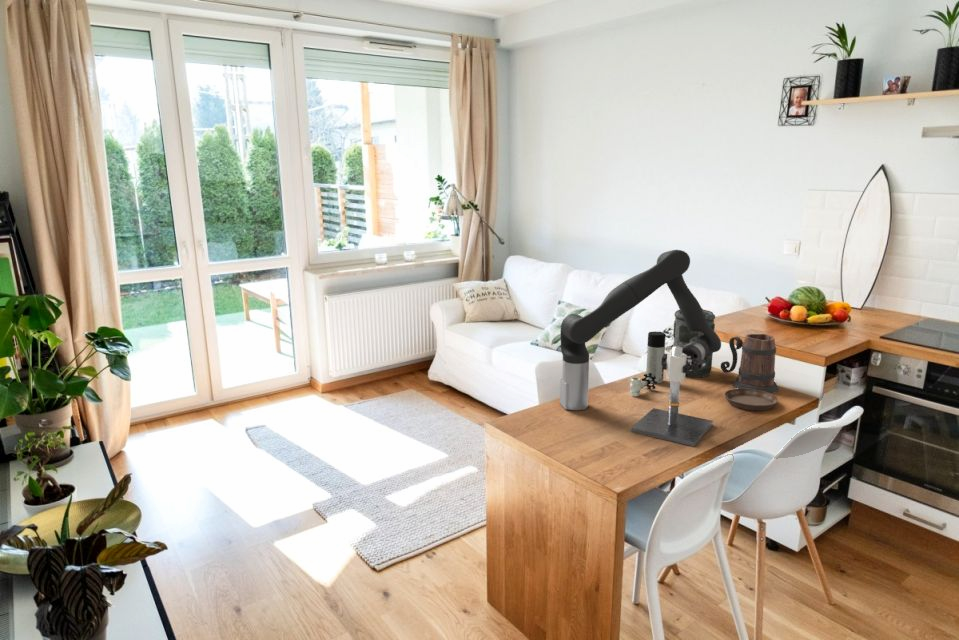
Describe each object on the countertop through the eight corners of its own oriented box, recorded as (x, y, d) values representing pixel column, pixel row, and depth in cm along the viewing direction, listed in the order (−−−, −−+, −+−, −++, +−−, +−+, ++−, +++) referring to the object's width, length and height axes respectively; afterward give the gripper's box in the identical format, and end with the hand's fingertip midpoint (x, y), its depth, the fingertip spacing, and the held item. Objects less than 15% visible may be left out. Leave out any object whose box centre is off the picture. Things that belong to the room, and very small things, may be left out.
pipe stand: (694, 446, 185) (700, 360, 178) (631, 431, 196) (634, 349, 190) (712, 424, 200) (718, 344, 194) (653, 412, 212) (657, 335, 205)
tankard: (788, 387, 234) (793, 337, 229) (763, 397, 225) (768, 344, 220) (733, 372, 253) (737, 325, 248) (708, 380, 244) (712, 332, 239)
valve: (639, 399, 225) (657, 391, 232) (639, 382, 223) (658, 374, 231) (624, 394, 230) (642, 387, 237) (624, 377, 228) (643, 370, 236)
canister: (718, 372, 252) (723, 307, 246) (697, 381, 243) (702, 312, 236) (684, 364, 264) (689, 301, 258) (663, 371, 255) (667, 306, 248)
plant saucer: (713, 399, 224) (713, 391, 223) (750, 392, 230) (751, 385, 229) (749, 416, 208) (750, 408, 207) (788, 408, 214) (789, 400, 213)
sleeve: (681, 382, 191) (682, 358, 189) (664, 379, 194) (665, 355, 192) (686, 378, 195) (688, 354, 193) (669, 375, 198) (671, 351, 196)
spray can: (665, 384, 240) (668, 335, 235) (647, 384, 240) (650, 335, 235) (660, 378, 246) (663, 330, 242) (643, 378, 246) (646, 331, 242)
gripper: (670, 341, 208) (652, 353, 195) (713, 347, 200) (698, 360, 187) (669, 362, 210) (651, 375, 197) (712, 369, 202) (696, 383, 189)
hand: (674, 368), depth 192 cm, fingers closed on sleeve, 5 cm apart
